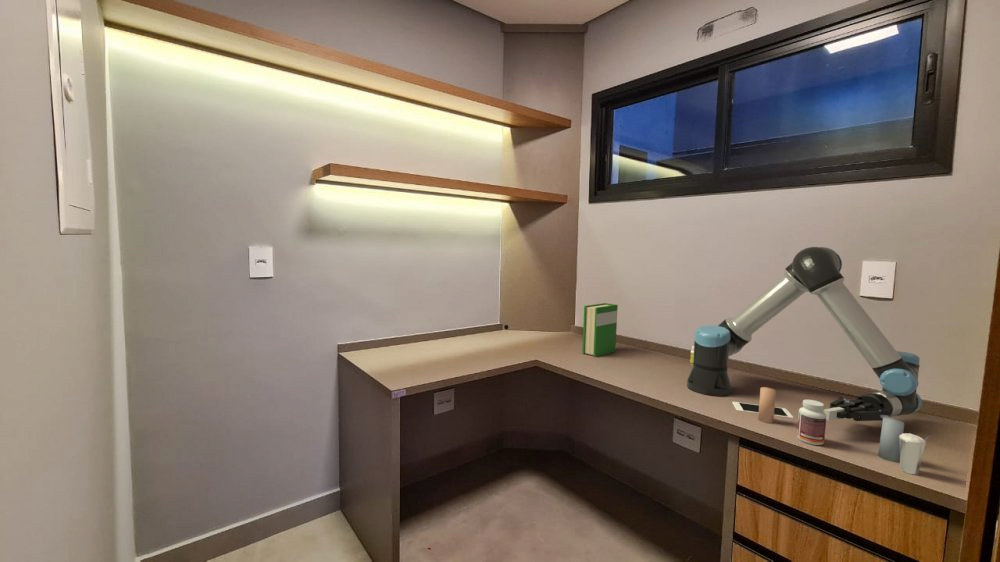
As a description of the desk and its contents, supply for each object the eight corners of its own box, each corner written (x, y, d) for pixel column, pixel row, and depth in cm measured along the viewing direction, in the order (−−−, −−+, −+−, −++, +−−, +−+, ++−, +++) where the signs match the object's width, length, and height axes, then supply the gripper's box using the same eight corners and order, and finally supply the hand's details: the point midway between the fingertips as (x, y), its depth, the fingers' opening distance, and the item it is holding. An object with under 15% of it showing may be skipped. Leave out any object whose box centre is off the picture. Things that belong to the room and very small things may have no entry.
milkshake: (930, 478, 97) (935, 438, 96) (901, 473, 98) (906, 433, 98) (919, 469, 101) (924, 430, 100) (891, 464, 103) (896, 426, 102)
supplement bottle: (691, 362, 190) (692, 345, 189) (702, 364, 187) (703, 346, 186) (688, 365, 186) (689, 347, 186) (699, 367, 184) (700, 348, 183)
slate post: (878, 457, 106) (883, 420, 105) (878, 451, 109) (882, 416, 108) (899, 463, 103) (904, 426, 102) (899, 457, 106) (904, 420, 105)
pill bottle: (829, 446, 112) (833, 407, 111) (806, 445, 112) (810, 406, 111) (813, 435, 118) (816, 398, 117) (791, 435, 118) (794, 398, 117)
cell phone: (731, 403, 142) (731, 401, 142) (785, 410, 137) (785, 408, 137) (736, 411, 135) (736, 409, 135) (793, 419, 130) (794, 417, 130)
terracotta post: (756, 420, 128) (759, 389, 127) (759, 416, 130) (762, 386, 130) (771, 424, 125) (774, 392, 124) (774, 420, 128) (777, 389, 127)
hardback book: (594, 357, 196) (596, 307, 194) (582, 354, 202) (584, 305, 199) (615, 351, 208) (617, 304, 206) (603, 348, 213) (605, 303, 211)
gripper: (903, 426, 118) (851, 438, 110) (852, 409, 130) (801, 418, 122) (906, 401, 118) (853, 411, 110) (854, 386, 130) (803, 394, 122)
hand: (826, 415), depth 116 cm, fingers closed
